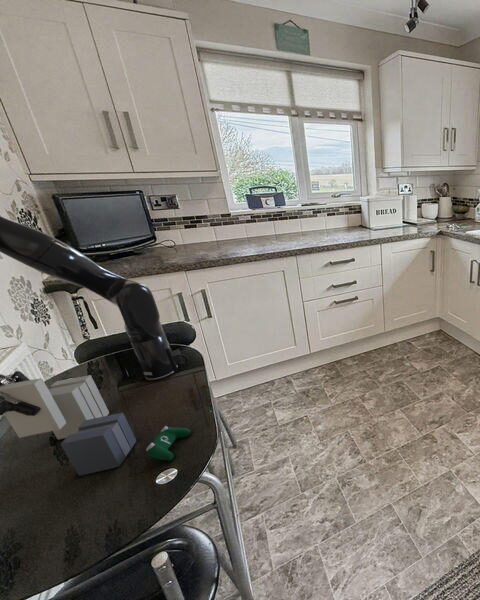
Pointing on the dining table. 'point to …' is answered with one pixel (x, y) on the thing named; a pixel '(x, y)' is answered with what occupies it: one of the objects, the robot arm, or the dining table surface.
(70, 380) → the white books
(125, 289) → the robot arm
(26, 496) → the dining table surface
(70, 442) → the grey books
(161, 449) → the gaming controller
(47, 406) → the white book
